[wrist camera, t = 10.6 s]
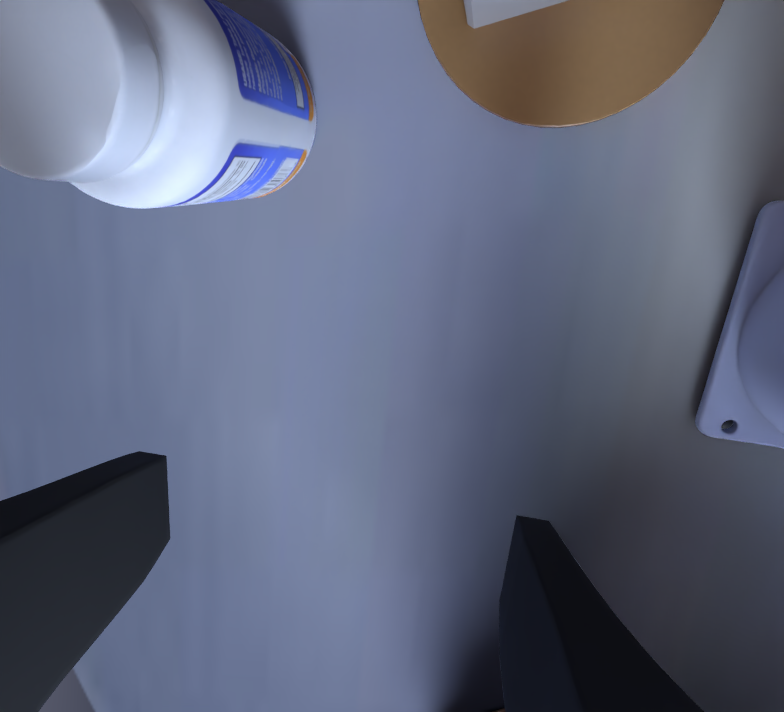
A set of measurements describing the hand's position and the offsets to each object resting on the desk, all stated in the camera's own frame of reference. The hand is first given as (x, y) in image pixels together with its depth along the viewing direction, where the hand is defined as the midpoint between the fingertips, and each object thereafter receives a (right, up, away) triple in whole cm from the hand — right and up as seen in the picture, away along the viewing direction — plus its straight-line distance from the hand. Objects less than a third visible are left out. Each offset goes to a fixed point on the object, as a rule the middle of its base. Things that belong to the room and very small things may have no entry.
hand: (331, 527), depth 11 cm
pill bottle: (-4, +12, +8) cm, 15 cm away
